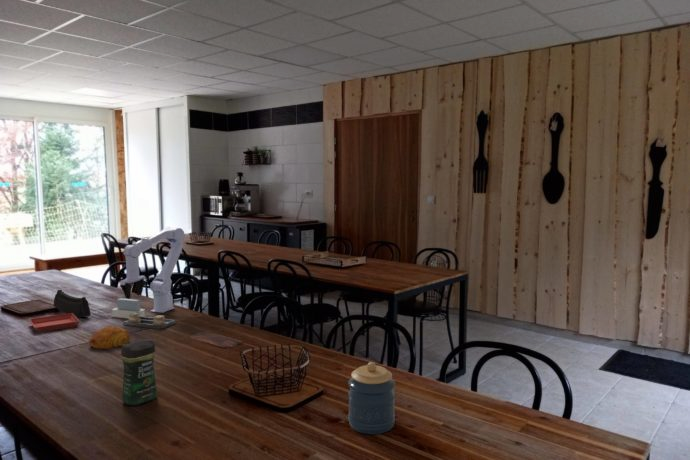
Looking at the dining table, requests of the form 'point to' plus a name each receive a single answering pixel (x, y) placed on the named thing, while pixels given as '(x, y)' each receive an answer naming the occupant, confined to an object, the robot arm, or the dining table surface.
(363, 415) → the canister
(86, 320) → the dining table surface
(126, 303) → the chamfered blue-grey beam
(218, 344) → the wooden tablet
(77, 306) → the magazine
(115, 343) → the croissant
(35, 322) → the plant saucer
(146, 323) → the rack
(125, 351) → the coffee jar
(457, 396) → the dining table surface
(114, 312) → the holder
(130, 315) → the birch offcut stack
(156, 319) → the birch offcut
